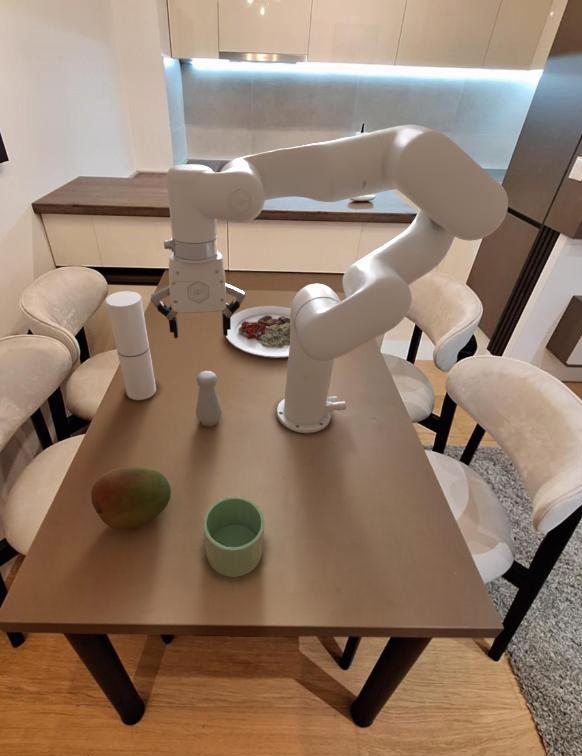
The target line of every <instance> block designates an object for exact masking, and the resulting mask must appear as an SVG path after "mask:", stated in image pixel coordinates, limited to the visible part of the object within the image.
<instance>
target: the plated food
mask: <svg viewBox="0 0 582 756" xmlns="http://www.w3.org/2000/svg"><path fill="white" fill-rule="evenodd" d="M290 313H291V307H286V306H279V305H278V306H276V305H261V306H254V307H249V308H246V309H243V310H240V311H238V312H236V313H233V314H232V317H231V330H227V333H228V336H225V338H226V339H227V341H228V342H229V343H230V344H231V345H232V346H233V347H235V348H237V349H239V350H240V351H242V352H245V353H248V354H251V355H254V356H258V357H262V358H263V357H264V358H275V359H276V358H289V347H290Z"/></svg>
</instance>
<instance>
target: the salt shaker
mask: <svg viewBox="0 0 582 756" xmlns="http://www.w3.org/2000/svg"><path fill="white" fill-rule="evenodd" d="M196 383H197V386H198V387H199V388H198V394H197V395H198V396H197V402H196V408H195V415H196V418H197V420H198V421H199V422H200V423H201V425H202V426H204V427H213V426H215V425H217V424H218V423H219V421H220V419H221V417H222V414H223V411H222V408H221V407H222V406H221V403H220V400H219V395H218V392H217V389H216V386H217V384H218V377H217V373H214V372H213V371H210V370H204V371H201V372H199V373H198V374H197V376H196Z"/></svg>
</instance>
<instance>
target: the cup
mask: <svg viewBox="0 0 582 756" xmlns="http://www.w3.org/2000/svg"><path fill="white" fill-rule="evenodd" d="M202 524H203V533H204V534H203V535H204V546H205V554H206V559H207V561H208V563H209V565H210V566H211V568H212V569H213V570H214V571H215V572H217V573H219V574H220V575H222V576H226V577H229V578H230V577H231V578H235V577H242V576H246V575H247V574H249V573H250V572H252V571H253V570H254V569H255V568H256V567H257V566H258V564H259V563H260V561H261V559H262V556H263V547H264V538H265V537H264V536H265V518H264V513H263V512H262V510H261V509H260V507H259V506H258V504H256V503H255V502H254V501H252V500H251V499H249V498H246V497H243V496H242V497H241V496H227V497H224V498H221V499H219V500H216V501H215V502H214V503H213V504H211V505H210V507H209V508H208V509H207V511H206V513H205V515H204V518H203V523H202Z"/></svg>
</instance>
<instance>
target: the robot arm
mask: <svg viewBox="0 0 582 756" xmlns="http://www.w3.org/2000/svg"><path fill="white" fill-rule="evenodd" d="M166 187H167V188H166V189H167V199H168V207H169V218H170V230H171V237H170V239H168V240H164V241H163V247H164V250H169V251H171V252H172V253H171V254H170V256H169V260H168V285H166V286H165V287H163V288H161V289H159V290H157V291H155V292H153V293H152V294H150V301H151V303H152V304H153V305H154V307H155V308H156V309H157V312H159V313H160V314H162V315H163V316H164V317H165V318H166V320H168V326H169V333H173V338H174V339H178V338H179V327H178V314H199V313H218V312H222V313H221V315H222V319H221V320H222V332H223V336H224V337H226V336H228V333H227V330H231V317H232V316H233V315H234V314H235V312H236V311H238V310H239V309H240V306H241V304H242V303H243V301H244V299H245V297H246V294H245V291H243V290H242V289H239V288H237V287H236V286H233V285H231V284H228V283H227V281H226V271H225V264H224V259H223V255H222V254H221V252H220V251H218V224H217V223H218V221H217V220H220V221H225V222H229V223H236V224H237V223H239V224H243V223H248V222H251V221H253V220H255V219H256V218H258V216H259V215H260V214H261V213H262V211H263V210H264V206H265V202H266V201H269V200H274V199H280V198H291V197H296V198H305V199H309V200H313V201H316V202H322V203H323V202H324V203H336V202H341V201H345V200H349V199H353V198H360V197H363V196H368V195H374V194H378V193H383V192H389V191H394V190H396V191H398V192H399V193H401V194H402V195H403V196H404V197H406V198H407V200H410V202H412V203H413V204H414V205H415V206H416V207H418V211H417V213H416V215H415V217H414V219H413V221H412V222H411V224H410V225H409V226H408V227H407V228H406V229H405V230H404V231H403V232H402V233H400V234H398V235H397V236H395V238H393V239H392V240H390V241H388V242H387V243H385V244H384V245H382V246H380V247H379V248H377V249H375V250H373V251H372V252H371V253H369V254H367V255H365V256H364V257H362V258H360V259H359V260H357V261H355V262H354V263H353V264H351V265H350V266H349V267H348V268H347V269H346V270H345V272H344V273H343V276H342V280H341V281H342V283H341V284H342V288H343V292H344V294H345V296H346V298H345V299H343V300H340V298H339V296H338V294H337V293H336V292H335V291H334V290H333V289H332V288H331V287H330V286H328V285H326V284H322V283H312V284H311V283H310V284H307V285H305V286H304V287H302V288H301V289H300V290H299V291H298V292H297V293H296V294H295V297H294V298H293V300H292V302H291V306H290V308H291V313H290V347H289V357H287V358H288V359H287V369H286V377H285V378H286V379H285V388H284V389H285V391H284V398H283V399H281V400H280V402H279V403H278V405H277V408H276V416H277V419H278V421H279V422H280V424H281V425H283V426H284V427H286V428H287V429H289V430H290V431H294V432H297V433H301V434H310V433H311V434H312V433H318V432H320V431H322V430H324V429H325V428H326V427H327V426H328V425H329V424H330V422H331V418H332V413H333V412H334V411H346V410H347V404H346V401H338V396H336V395H335V396H329V391H330V384H331V380H332V379H331V378H332V374H333V373H332V372H333V367H334V363H335V360H336V359H338V358H341V357H343V356H345V355H347V354H350V353H351V352H353V351H355V350H356V349H359V348H360V347H362V346H364V345H366V344H368V343H370V342H372V341H374V340H375V339H377V338H379V337H381V336H383V335H384V334H386V333H388V332H389V331H391V330H393V329H394V328H396V327H397V326H398V325H400V323H401V322H402V321H403V320H404V319H405V318H406V316H407V314H408V313H409V312H410V309H411V306H412V299H413V298H412V292H411V289H410V287H409V286H410V285H412V284H413V283H415V282H416V281H418V280H419V279H421V278H423V277H425V276H426V275H428V274H429V273H430V272H432V271H433V270H435V268H437V266H439V265H440V264H441V262H442V261H443V260H444V259H445V257H446V256H447V254H448V252H449V250H450V248H451V247H452V244H453V242H454V240H455V238H457V239H459V240H462V241H470V242H471V241H478V240H482V239H485V238H486V237H488V236H490V235H492V234H493V233H494V232H495V231H497V229H498V228H499V227H500V226H501V225H502V224H503V222H504V220H505V218H506V216H507V212H508V208H509V197H508V193H507V191H506V189H505V187H504V186H503V185H502V184H501V183H500V182H499V181H498V180H497V178H495V177H494V176H493V175H491V174H490V173H489V172H488V171H487V170H485V169H484V168H483V167H482V166H481V165H480V164H479V163H477V161H475V160H474V159H473V158H472V157H471V156H470V155H469V154H467V152H466V151H464V150H463V149H462V147H461V146H459V145H458V144H457V143H456V142H454V141H453V139H451V138H450V137H449V136H448V135H446V134H444V133H443V132H442V131H439V130H436V129H432V128H430V127H427V126H422V125H420V124H402V125H397V126H393V127H388V128H384V129H378V130H375V131H371V132H366V133H362V134H361V133H360V134H357V135H353V136H349V137H343V138H339V139H333V140H329V141H323V142H316V143H310V144H306V145H301V146H294V147H286V148H279V149H274V150H270V151H269V150H268V151H265V152H260V153H255V154H250V155H246V156H242V157H238V158H235V159H232V160H230V161H229V162H227V163H225V165H224V166H223V167H222V168H221V170H220V171H213V169H212V168H210V167H208V166H206V165H203V164H191V163H189V164H187V163H186V164H178V165H174V166H172V167H170V168H169V169H168V171H167V173H166ZM227 294H228V295H230V296H232V297H234V300H232V301H231V302H230V303H229V304H228V302H227V298H228V297H227ZM168 296H169V299H170V300H169V301H170V305H169V306H167V304H165V303H164V302H163V301H162V300H163V299H165V298H167V297H168Z"/></svg>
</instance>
